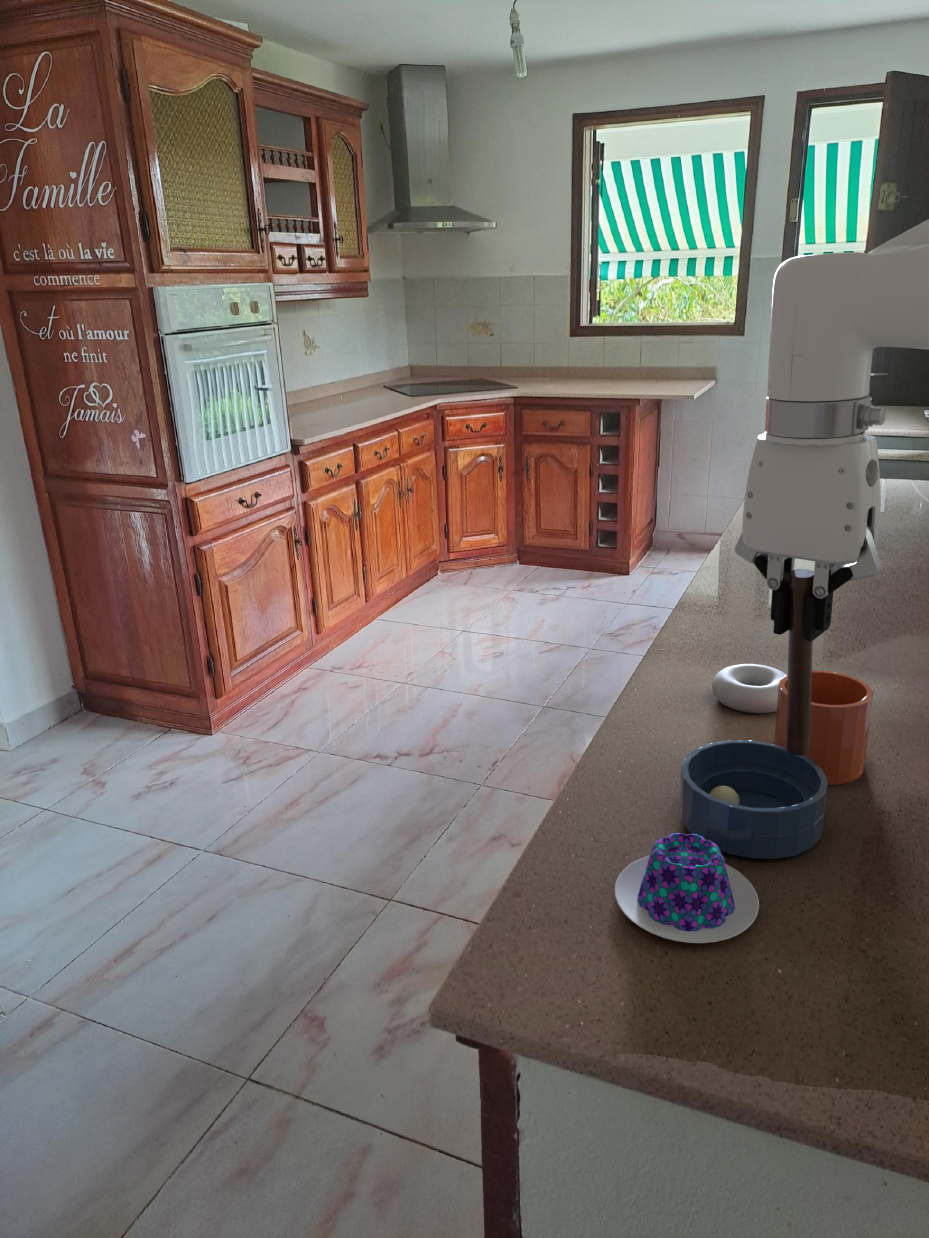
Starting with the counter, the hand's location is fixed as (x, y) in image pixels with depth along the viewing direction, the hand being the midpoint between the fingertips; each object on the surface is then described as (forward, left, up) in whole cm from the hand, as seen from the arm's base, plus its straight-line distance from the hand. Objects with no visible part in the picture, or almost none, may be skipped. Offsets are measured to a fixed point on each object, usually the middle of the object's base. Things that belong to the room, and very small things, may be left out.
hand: (799, 631), depth 77 cm
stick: (0, -2, -12) cm, 13 cm away
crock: (+3, -15, -21) cm, 26 cm away
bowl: (+3, 0, -21) cm, 21 cm away
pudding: (+2, +15, -21) cm, 26 cm away
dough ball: (+6, +1, -19) cm, 20 cm away
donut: (+15, -25, -21) cm, 36 cm away
